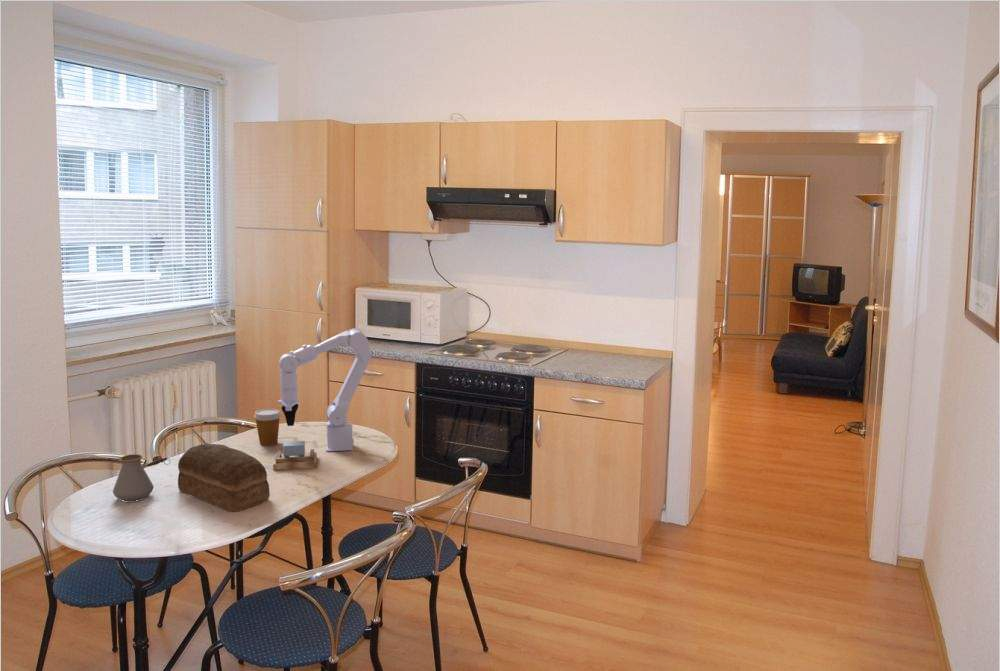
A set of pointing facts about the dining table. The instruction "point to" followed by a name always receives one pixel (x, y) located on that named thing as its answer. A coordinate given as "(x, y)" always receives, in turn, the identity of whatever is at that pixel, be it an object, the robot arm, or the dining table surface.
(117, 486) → the coffee pot
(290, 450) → the blue block with feet
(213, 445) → the bread
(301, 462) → the dock
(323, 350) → the robot arm
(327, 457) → the dining table surface
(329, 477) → the dining table surface
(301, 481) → the dining table surface
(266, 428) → the disposable coffee cup
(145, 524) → the dining table surface
